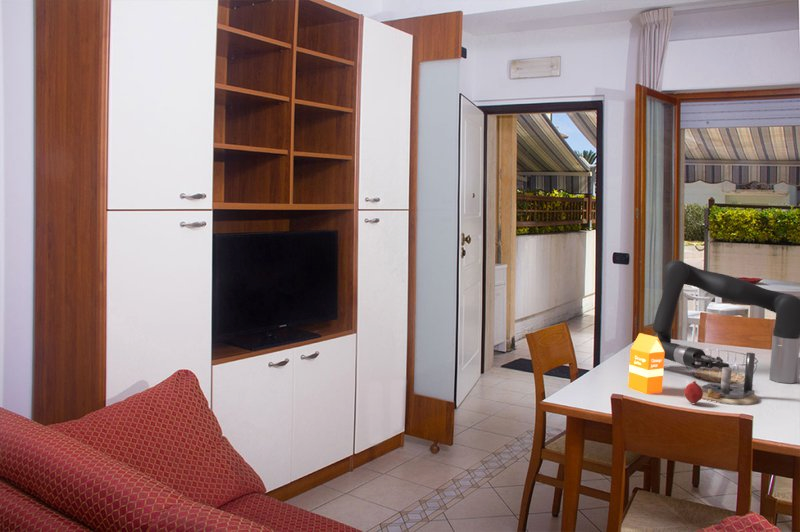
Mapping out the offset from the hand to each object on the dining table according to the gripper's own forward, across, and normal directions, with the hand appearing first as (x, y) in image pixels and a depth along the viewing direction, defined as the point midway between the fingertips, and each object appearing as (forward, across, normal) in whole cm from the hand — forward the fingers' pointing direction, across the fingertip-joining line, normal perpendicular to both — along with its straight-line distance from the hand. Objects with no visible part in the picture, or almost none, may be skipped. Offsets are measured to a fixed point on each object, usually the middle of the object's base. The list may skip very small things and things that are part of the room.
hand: (727, 367), depth 259 cm
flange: (+6, -8, +7) cm, 13 cm away
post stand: (+6, -7, +8) cm, 13 cm away
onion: (+8, -26, +9) cm, 29 cm away
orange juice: (-11, -28, +9) cm, 32 cm away
